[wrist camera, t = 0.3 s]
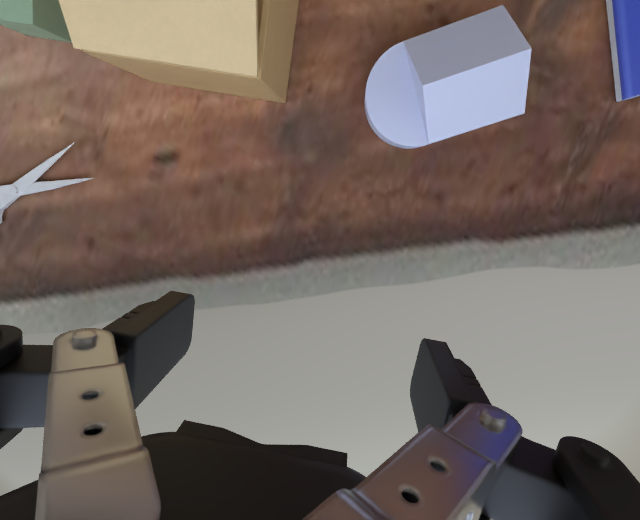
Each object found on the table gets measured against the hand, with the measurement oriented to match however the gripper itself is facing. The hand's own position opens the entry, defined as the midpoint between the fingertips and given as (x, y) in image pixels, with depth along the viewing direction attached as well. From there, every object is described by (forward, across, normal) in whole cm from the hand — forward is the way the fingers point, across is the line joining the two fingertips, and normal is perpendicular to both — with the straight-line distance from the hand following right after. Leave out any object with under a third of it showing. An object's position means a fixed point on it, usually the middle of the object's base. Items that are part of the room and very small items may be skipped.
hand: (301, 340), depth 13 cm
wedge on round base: (+29, -7, -14) cm, 33 cm away
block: (+29, +32, -16) cm, 46 cm away
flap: (+16, +14, -15) cm, 26 cm away
